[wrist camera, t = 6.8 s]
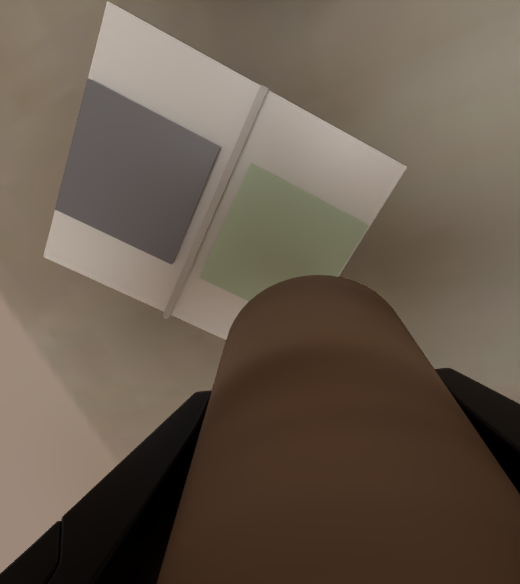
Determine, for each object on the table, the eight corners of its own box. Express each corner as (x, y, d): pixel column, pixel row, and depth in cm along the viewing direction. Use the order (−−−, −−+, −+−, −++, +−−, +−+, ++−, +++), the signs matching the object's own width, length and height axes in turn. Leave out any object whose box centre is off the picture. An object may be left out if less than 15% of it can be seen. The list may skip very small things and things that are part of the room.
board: (402, 166, 15) (411, 167, 14) (282, 359, 19) (282, 371, 18) (114, 6, 14) (100, -5, 13) (51, 253, 18) (36, 260, 17)
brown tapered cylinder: (409, 422, 9) (602, 842, 4) (243, 436, 10) (191, 823, 4) (406, 261, 8) (744, 576, 2) (207, 289, 8) (42, 601, 3)
